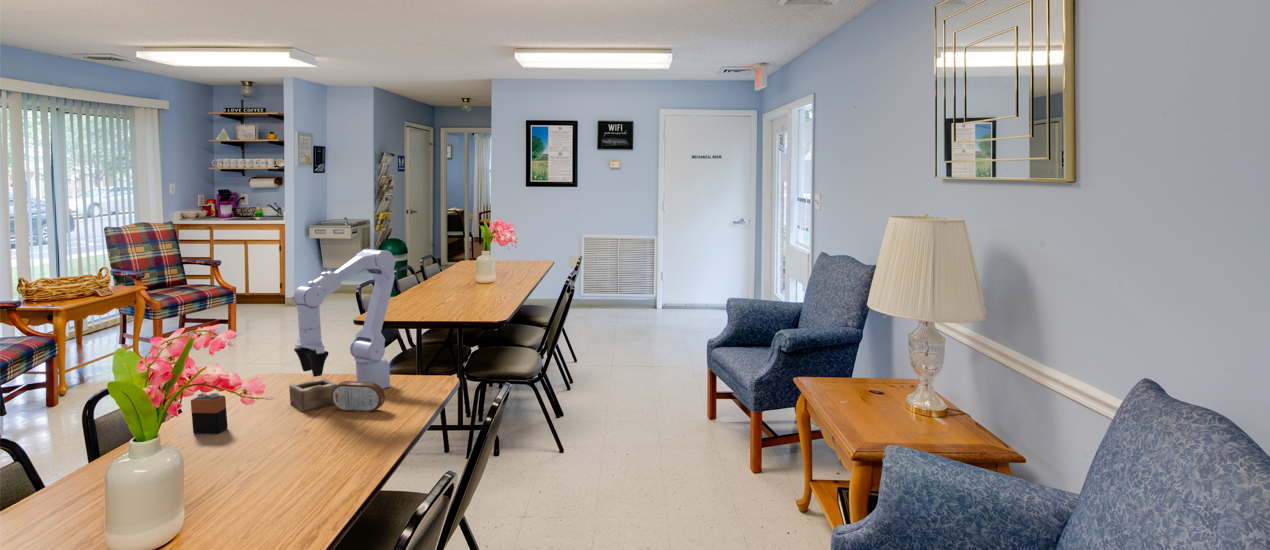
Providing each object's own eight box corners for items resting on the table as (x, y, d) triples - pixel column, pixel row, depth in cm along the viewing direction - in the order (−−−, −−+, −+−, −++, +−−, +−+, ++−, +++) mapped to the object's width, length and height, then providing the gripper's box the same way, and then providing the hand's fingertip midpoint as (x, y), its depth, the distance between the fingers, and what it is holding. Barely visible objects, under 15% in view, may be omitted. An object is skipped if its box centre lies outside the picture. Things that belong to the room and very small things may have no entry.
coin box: (325, 397, 207) (324, 378, 206) (337, 404, 201) (336, 384, 200) (290, 404, 200) (289, 384, 199) (302, 412, 194) (301, 391, 193)
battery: (218, 434, 177) (215, 397, 175) (192, 433, 177) (189, 396, 175) (228, 428, 181) (225, 391, 180) (203, 427, 181) (200, 391, 180)
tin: (386, 410, 196) (384, 381, 195) (381, 413, 193) (379, 384, 192) (336, 408, 198) (334, 379, 197) (330, 411, 195) (328, 382, 194)
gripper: (285, 325, 200) (288, 371, 201) (305, 333, 190) (308, 381, 191) (310, 322, 205) (313, 366, 206) (330, 329, 195) (333, 376, 196)
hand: (312, 373), depth 199 cm, fingers open, 7 cm apart
